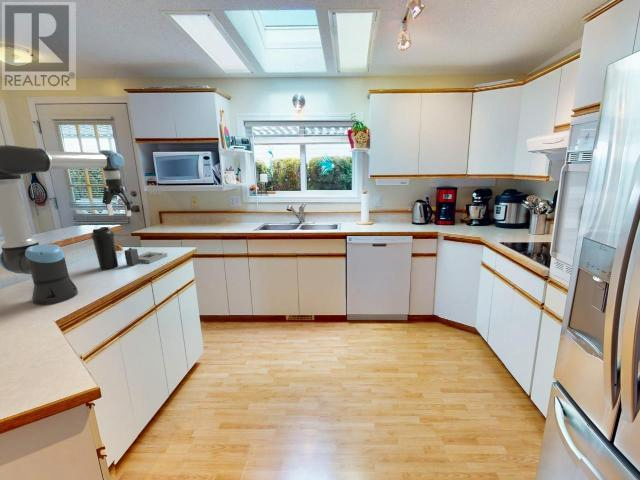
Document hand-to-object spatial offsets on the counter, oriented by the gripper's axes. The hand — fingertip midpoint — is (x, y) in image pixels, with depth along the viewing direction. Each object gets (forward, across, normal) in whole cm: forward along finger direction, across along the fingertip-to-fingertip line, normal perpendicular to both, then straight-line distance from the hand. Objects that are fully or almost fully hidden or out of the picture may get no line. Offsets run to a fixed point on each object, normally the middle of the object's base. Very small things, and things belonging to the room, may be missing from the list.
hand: (120, 215), depth 174 cm
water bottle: (+28, 0, +12) cm, 31 cm away
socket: (+28, -10, -6) cm, 30 cm away
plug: (+28, -9, +5) cm, 30 cm away
